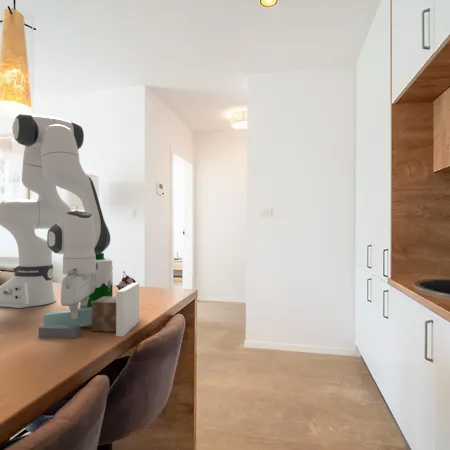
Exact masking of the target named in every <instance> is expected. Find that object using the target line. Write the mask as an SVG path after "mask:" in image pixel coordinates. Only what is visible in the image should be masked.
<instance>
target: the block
mask: <svg viewBox="0 0 450 450" xmlns="http://www.w3.org/2000/svg"><path fill="white" fill-rule="evenodd" d="M91 331H92V332H116V296H112V297H109V296H103V297H101V298H99V299H97V300H95V301H94V302H92V324H91Z"/></svg>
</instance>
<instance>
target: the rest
mask: <svg viewBox="0 0 450 450" xmlns="http://www.w3.org/2000/svg"><path fill="white" fill-rule="evenodd" d="M81 326H82V325H44V324H43V325H42V326H40V327H38V338H52V339H54V338H55V339H57V338H58V339H59V338H60V339H76V338H78V337H79V336H81V333H82V332H81V331H82V327H81Z"/></svg>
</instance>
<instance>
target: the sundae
mask: <svg viewBox="0 0 450 450" xmlns="http://www.w3.org/2000/svg"><path fill="white" fill-rule="evenodd" d="M122 273H123V274H122V275H123V276H122V278H121V281H120V282H119V283H118V284H117V285H115V287H116V288H117V291H118V290H120V289H122V288H124V287H126V286H128V285H130V284H132V283H137V281H136V280H135V279H134V278H133V277H130V276H129V275H127V274H126V271H125V270H124V271H122ZM124 276H125V277H124Z"/></svg>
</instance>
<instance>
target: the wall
mask: <svg viewBox="0 0 450 450" xmlns="http://www.w3.org/2000/svg"><path fill="white" fill-rule="evenodd" d="M115 292H116V294H115V297H116V331H115V337H124V336H125V335H126V334H128V333H129V332H130V331H131V330H132V329H133V328H134V327H135V326H136V325H137V324H138V323H139V322H140V282H135V283H132V284H130V285H128V286H126V287H124V288H122V289H120V290H118V289H117V290H116V291H115Z"/></svg>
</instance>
